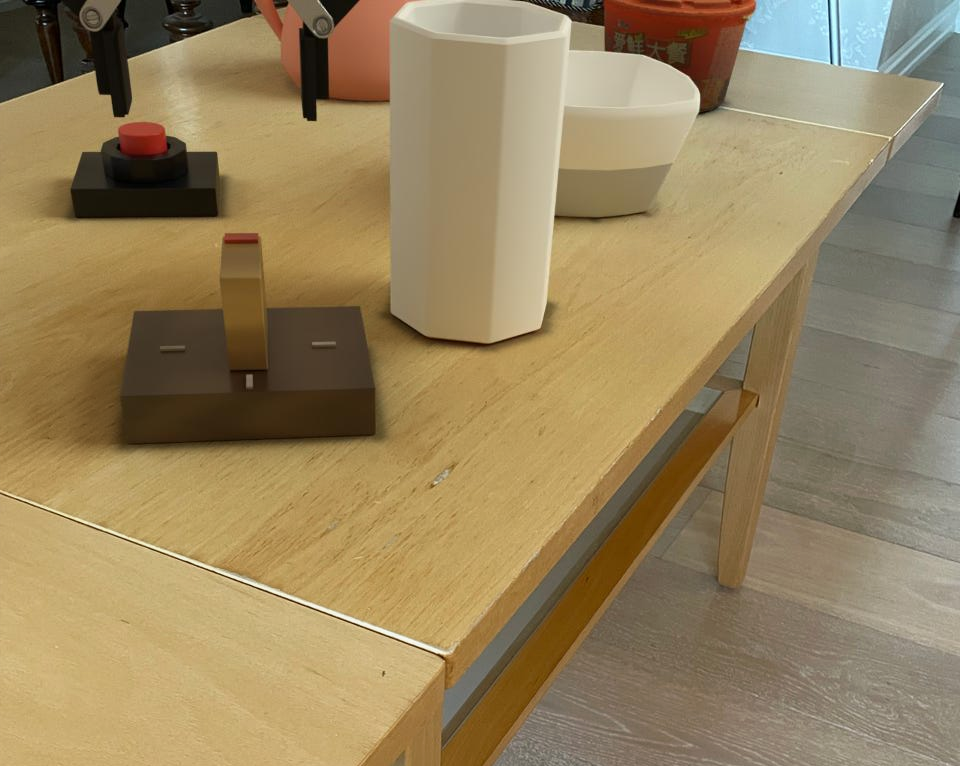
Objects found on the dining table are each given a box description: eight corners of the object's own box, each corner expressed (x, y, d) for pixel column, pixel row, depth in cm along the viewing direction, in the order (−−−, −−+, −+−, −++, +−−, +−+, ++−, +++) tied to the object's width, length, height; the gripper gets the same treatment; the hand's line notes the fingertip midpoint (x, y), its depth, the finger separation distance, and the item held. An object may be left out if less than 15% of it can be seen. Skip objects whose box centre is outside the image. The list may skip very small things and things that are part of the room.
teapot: (486, 67, 130) (492, -71, 121) (490, 111, 117) (498, -40, 109) (263, 57, 129) (253, -83, 120) (242, 99, 116) (230, -54, 107)
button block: (75, 217, 90) (65, 165, 88) (86, 178, 97) (78, 128, 94) (218, 216, 92) (213, 164, 89) (219, 177, 99) (215, 128, 96)
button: (119, 159, 90) (115, 135, 89) (122, 144, 93) (119, 121, 92) (166, 158, 91) (163, 135, 90) (168, 144, 94) (165, 121, 93)
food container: (604, 71, 131) (616, -37, 124) (745, 88, 128) (764, -21, 122) (575, 108, 119) (586, -9, 113) (729, 128, 117) (750, 9, 110)
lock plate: (127, 444, 65) (119, 393, 63) (140, 355, 73) (133, 308, 71) (376, 434, 67) (375, 385, 65) (361, 349, 75) (360, 303, 73)
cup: (444, 265, 86) (452, -13, 74) (576, 303, 82) (607, 15, 70) (357, 317, 79) (351, 17, 67) (498, 361, 75) (517, 50, 63)
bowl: (457, 161, 105) (461, 48, 99) (643, 158, 108) (658, 48, 102) (500, 235, 92) (508, 110, 85) (710, 228, 95) (732, 107, 89)
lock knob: (267, 370, 66) (260, 273, 62) (228, 370, 66) (219, 273, 62) (267, 324, 71) (260, 231, 67) (231, 324, 70) (222, 231, 67)
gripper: (-45, -321, 46) (36, 131, 57) (391, -288, 48) (387, 137, 59) (-12, -325, 51) (55, 87, 62) (376, -295, 54) (375, 95, 65)
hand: (217, 111), depth 61 cm, fingers open, 9 cm apart
